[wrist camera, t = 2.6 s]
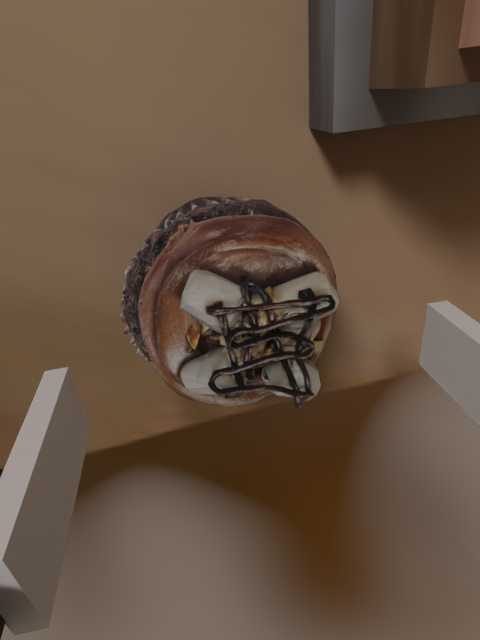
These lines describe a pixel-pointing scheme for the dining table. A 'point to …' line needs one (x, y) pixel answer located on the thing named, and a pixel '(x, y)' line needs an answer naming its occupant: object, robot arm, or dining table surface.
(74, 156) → the dining table surface
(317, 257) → the cupcake
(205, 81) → the dining table surface
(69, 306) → the dining table surface
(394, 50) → the stepped pyramid block
